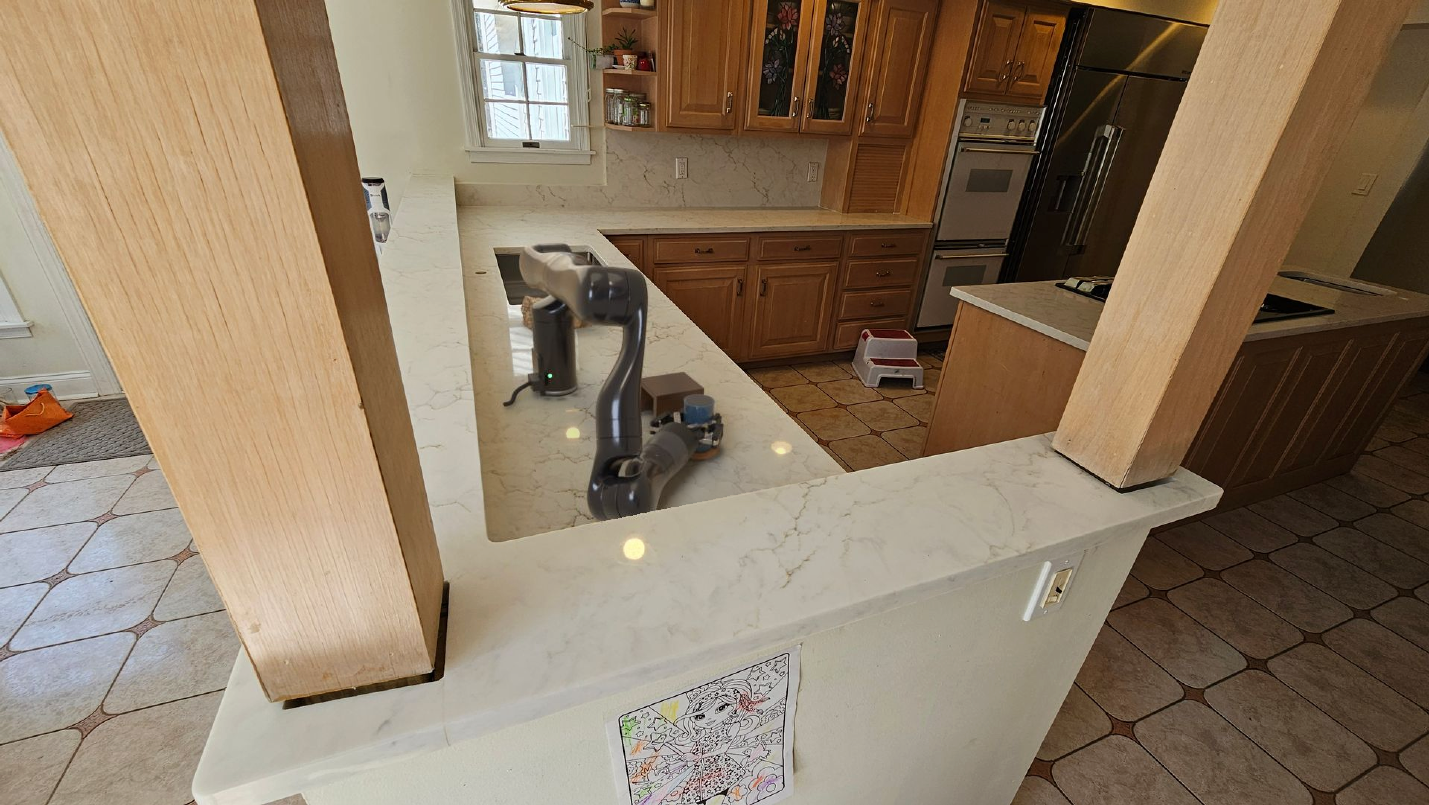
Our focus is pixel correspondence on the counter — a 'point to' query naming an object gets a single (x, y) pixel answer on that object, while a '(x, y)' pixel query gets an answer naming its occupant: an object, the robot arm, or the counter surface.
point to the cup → (698, 413)
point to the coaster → (705, 454)
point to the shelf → (667, 392)
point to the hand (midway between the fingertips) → (702, 414)
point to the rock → (527, 313)
